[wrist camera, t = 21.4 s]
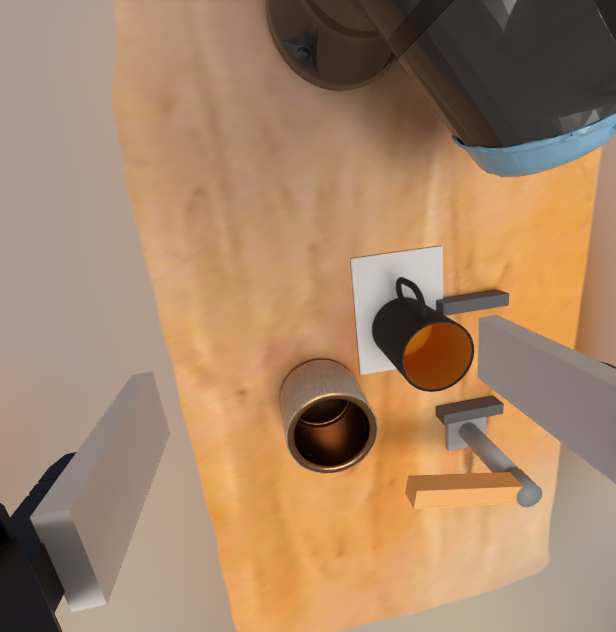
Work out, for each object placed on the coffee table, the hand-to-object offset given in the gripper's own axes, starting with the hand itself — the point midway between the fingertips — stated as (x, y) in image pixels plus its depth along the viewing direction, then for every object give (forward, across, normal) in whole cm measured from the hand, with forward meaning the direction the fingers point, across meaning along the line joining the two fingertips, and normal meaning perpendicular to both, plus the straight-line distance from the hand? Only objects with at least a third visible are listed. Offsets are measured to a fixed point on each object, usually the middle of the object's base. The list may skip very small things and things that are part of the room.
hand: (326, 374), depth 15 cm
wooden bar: (+21, +18, -28) cm, 39 cm away
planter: (+32, +3, -19) cm, 37 cm away
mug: (+31, +15, -9) cm, 36 cm away
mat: (+32, +15, -9) cm, 36 cm away
